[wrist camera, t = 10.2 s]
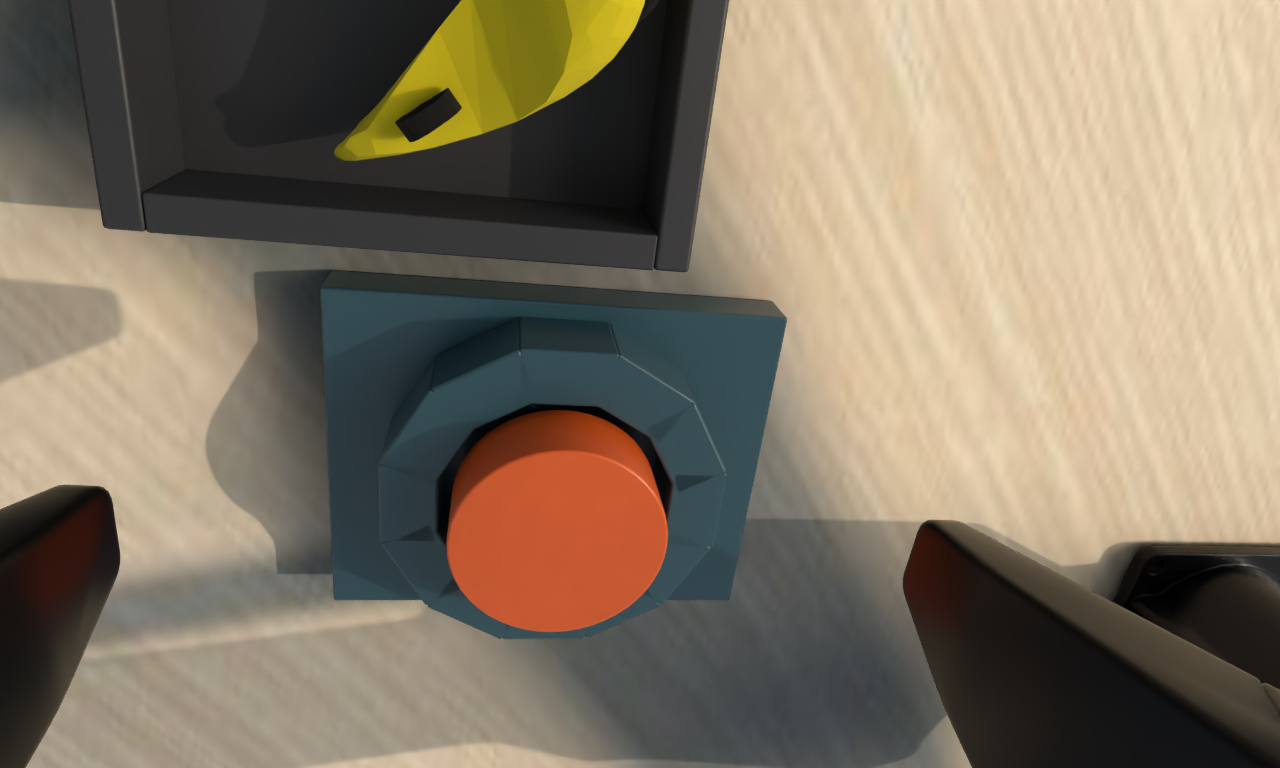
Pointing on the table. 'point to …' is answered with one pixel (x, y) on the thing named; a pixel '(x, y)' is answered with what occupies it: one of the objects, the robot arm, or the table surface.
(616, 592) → the button
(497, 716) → the table surface
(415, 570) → the dock switch
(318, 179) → the tray
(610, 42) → the yellow curved piece
